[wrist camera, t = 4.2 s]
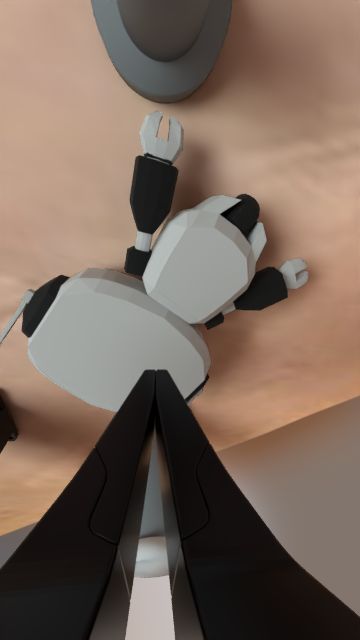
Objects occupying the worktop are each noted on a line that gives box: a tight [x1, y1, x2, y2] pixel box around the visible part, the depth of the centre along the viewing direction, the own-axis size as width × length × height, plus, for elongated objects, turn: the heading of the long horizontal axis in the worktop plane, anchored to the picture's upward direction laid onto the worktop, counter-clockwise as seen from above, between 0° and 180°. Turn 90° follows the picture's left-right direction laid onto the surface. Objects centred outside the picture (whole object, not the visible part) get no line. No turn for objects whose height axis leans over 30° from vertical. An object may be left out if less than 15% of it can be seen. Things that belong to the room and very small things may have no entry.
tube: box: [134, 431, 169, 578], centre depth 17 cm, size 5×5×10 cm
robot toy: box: [0, 111, 309, 413], centre depth 14 cm, size 12×4×15 cm
